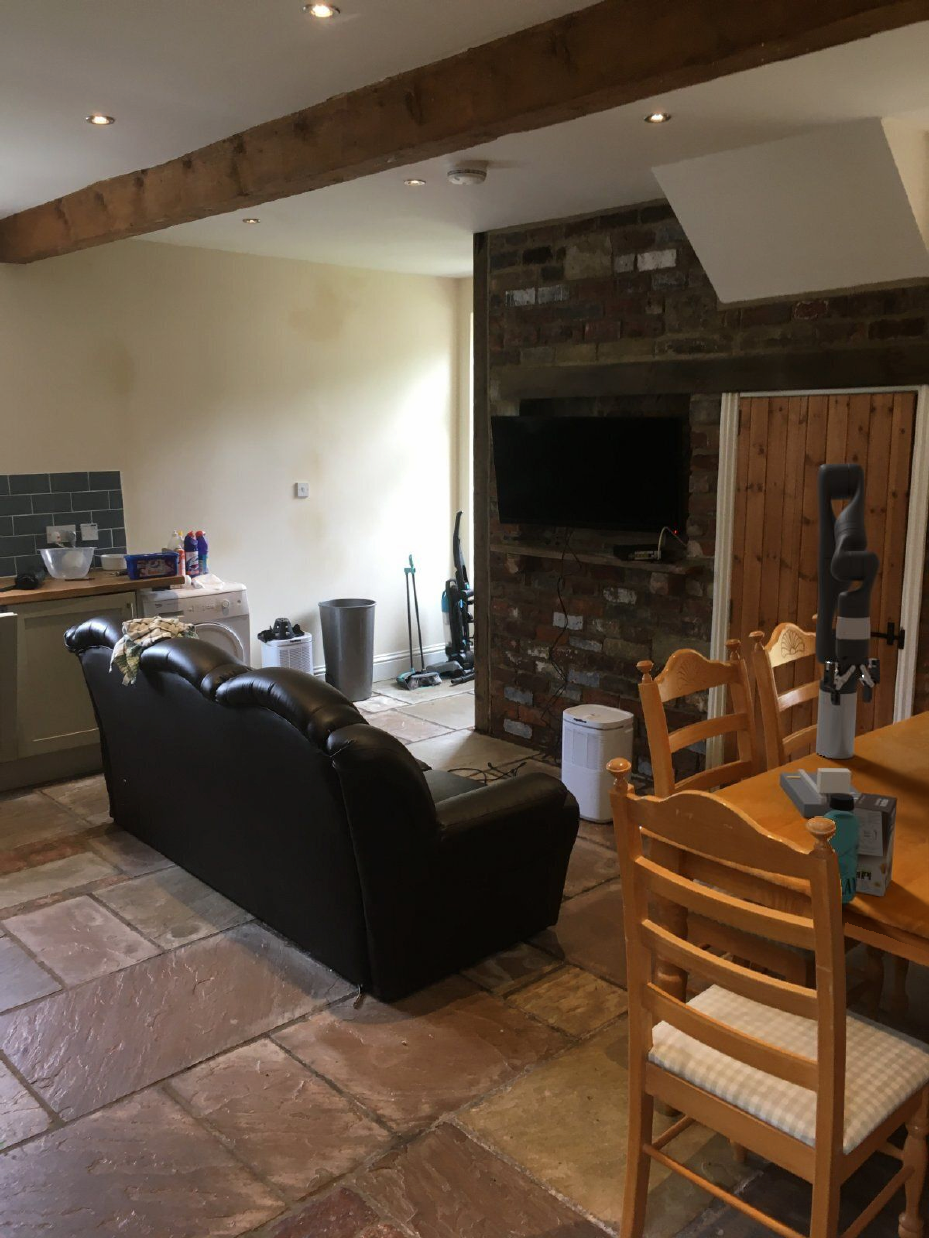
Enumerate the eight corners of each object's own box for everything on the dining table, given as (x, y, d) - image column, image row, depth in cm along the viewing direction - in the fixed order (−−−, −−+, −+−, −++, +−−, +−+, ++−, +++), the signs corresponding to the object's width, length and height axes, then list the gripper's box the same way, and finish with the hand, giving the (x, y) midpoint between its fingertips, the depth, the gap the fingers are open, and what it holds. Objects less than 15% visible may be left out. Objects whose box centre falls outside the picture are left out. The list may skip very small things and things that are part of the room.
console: (779, 784, 238) (780, 767, 237) (839, 785, 237) (840, 768, 236) (803, 817, 217) (804, 798, 216) (869, 818, 216) (870, 799, 215)
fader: (815, 795, 221) (817, 767, 220) (845, 796, 221) (847, 768, 220) (819, 800, 218) (821, 772, 217) (849, 800, 218) (851, 772, 217)
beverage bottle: (820, 910, 174) (826, 801, 170) (812, 893, 180) (818, 788, 177) (859, 912, 173) (866, 802, 169) (850, 895, 179) (857, 789, 176)
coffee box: (884, 898, 178) (890, 812, 176) (846, 890, 182) (851, 806, 179) (892, 878, 186) (897, 796, 183) (855, 871, 189) (861, 791, 187)
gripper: (867, 632, 240) (865, 698, 242) (817, 635, 236) (815, 703, 238) (889, 636, 233) (887, 704, 235) (837, 639, 229) (836, 708, 230)
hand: (851, 703), depth 236 cm, fingers open, 8 cm apart
